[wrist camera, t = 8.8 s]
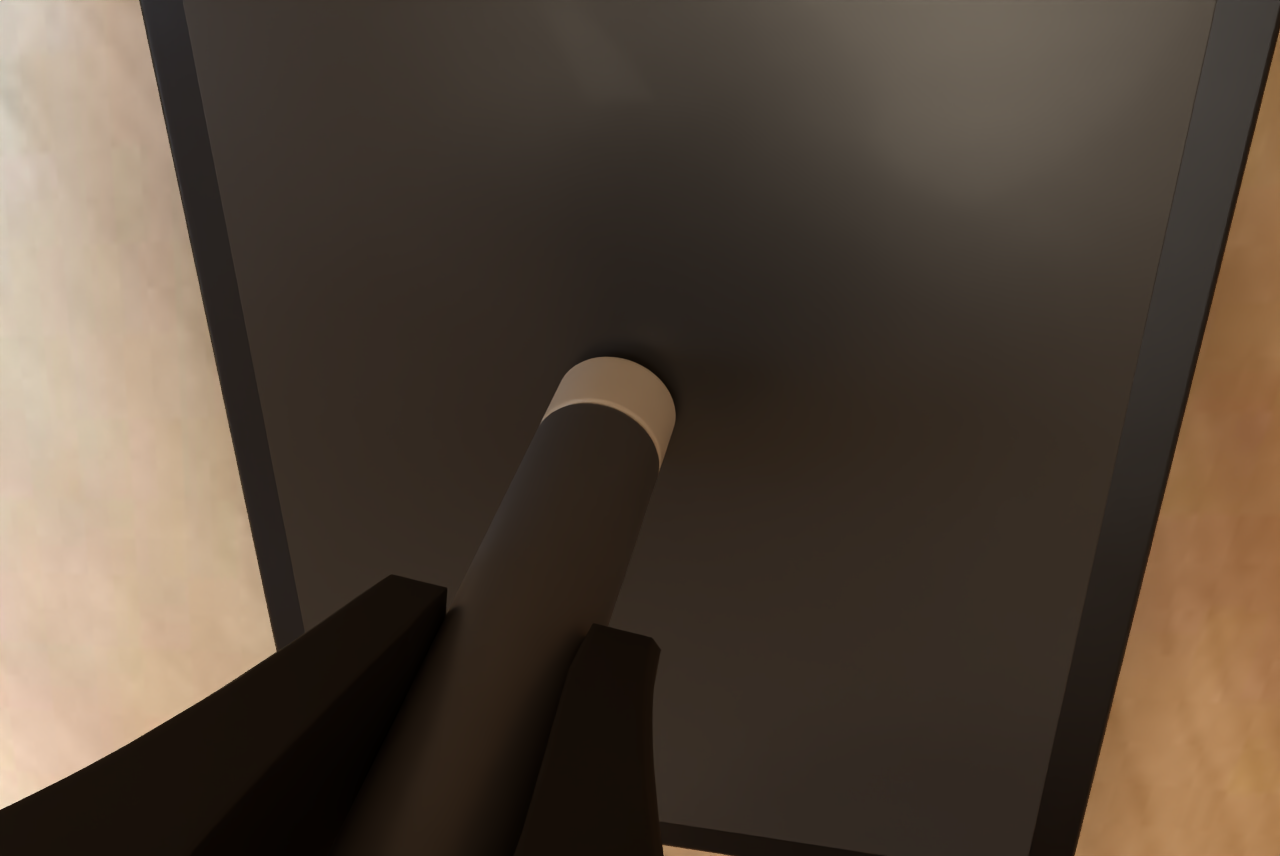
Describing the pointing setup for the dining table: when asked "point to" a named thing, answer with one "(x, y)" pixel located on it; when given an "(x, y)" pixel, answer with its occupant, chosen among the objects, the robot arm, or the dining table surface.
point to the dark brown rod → (518, 625)
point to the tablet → (742, 350)
